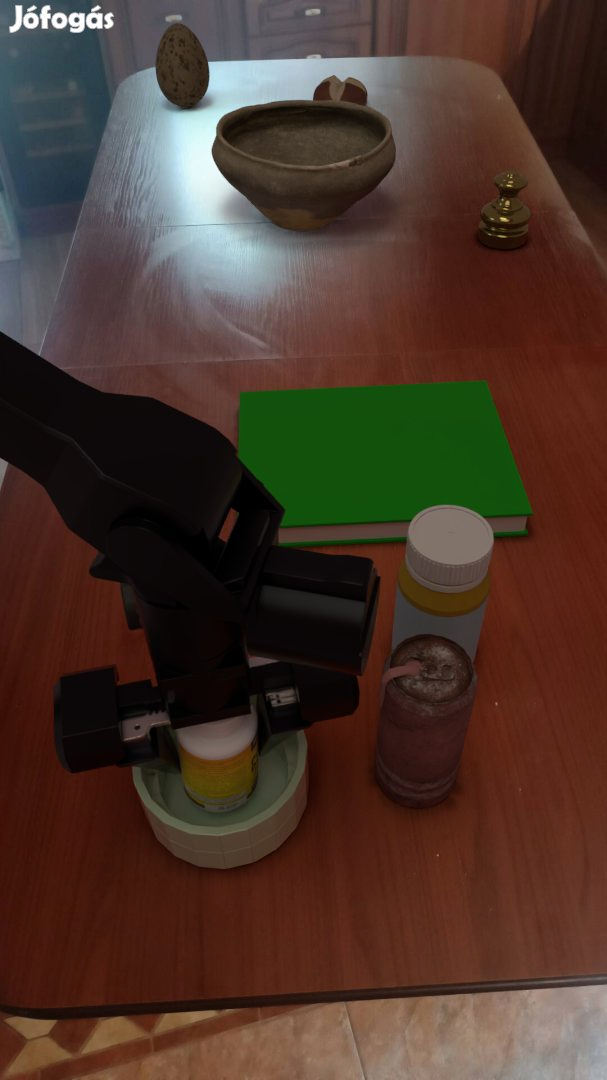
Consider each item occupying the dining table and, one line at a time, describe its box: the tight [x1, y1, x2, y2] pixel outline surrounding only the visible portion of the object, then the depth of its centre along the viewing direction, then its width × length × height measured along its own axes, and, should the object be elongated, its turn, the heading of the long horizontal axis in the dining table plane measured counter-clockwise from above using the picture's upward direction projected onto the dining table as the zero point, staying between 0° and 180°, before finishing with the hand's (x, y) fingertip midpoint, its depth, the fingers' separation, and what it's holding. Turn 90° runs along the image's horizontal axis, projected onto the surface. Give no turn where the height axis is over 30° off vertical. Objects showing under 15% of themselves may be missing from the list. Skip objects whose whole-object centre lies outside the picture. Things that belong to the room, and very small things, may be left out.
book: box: [236, 379, 534, 548], centre depth 85 cm, size 22×28×3 cm
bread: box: [312, 74, 368, 107], centre depth 163 cm, size 11×11×5 cm
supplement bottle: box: [175, 703, 258, 813], centre depth 55 cm, size 6×6×10 cm
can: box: [374, 633, 479, 809], centre depth 56 cm, size 6×6×14 cm
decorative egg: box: [154, 22, 211, 109], centre depth 162 cm, size 11×11×15 cm
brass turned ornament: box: [477, 169, 532, 250], centre depth 118 cm, size 7×7×10 cm
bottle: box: [391, 505, 495, 664], centre depth 63 cm, size 7×7×15 cm
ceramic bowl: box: [131, 694, 310, 870], centre depth 58 cm, size 12×12×6 cm
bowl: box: [210, 99, 397, 232], centre depth 124 cm, size 28×28×14 cm
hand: (219, 758), depth 57 cm, fingers closed on supplement bottle, 6 cm apart
